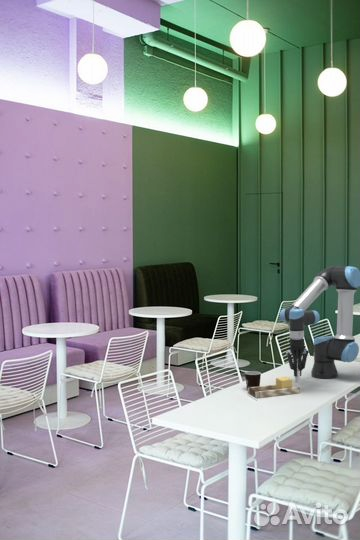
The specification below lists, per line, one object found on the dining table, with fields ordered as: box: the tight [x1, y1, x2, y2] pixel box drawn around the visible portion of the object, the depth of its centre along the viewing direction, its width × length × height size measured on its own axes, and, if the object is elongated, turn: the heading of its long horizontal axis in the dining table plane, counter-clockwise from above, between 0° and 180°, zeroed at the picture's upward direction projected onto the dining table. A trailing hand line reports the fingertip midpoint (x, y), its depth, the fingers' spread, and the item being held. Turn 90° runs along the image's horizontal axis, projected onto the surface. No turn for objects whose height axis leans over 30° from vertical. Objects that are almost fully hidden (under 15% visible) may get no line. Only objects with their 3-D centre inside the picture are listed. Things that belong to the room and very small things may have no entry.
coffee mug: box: [244, 370, 262, 391], centre depth 335 cm, size 12×9×10 cm
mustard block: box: [275, 376, 293, 389], centre depth 326 cm, size 6×7×7 cm
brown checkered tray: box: [247, 383, 301, 401], centre depth 324 cm, size 25×12×4 cm, turn 108°
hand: (297, 382), depth 328 cm, fingers closed
